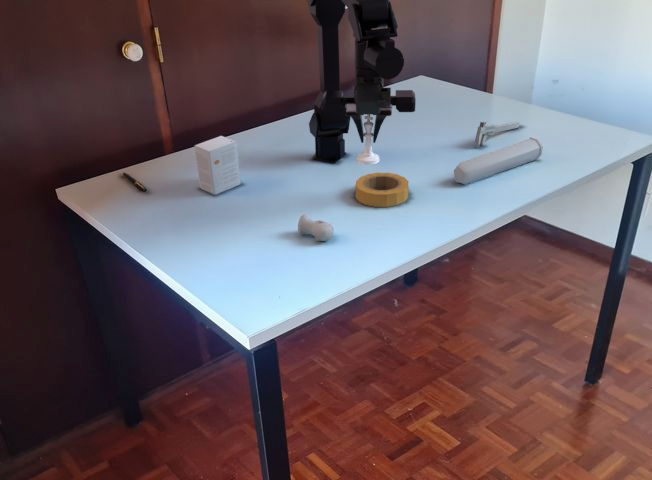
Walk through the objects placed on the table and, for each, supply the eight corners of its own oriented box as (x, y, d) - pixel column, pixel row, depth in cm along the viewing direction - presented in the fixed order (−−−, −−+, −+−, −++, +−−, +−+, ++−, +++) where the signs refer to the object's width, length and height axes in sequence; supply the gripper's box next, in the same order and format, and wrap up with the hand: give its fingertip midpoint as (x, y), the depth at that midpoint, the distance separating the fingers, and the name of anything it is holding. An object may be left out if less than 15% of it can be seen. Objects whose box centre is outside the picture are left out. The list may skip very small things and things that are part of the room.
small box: (226, 178, 169) (221, 134, 162) (241, 184, 165) (237, 140, 159) (199, 188, 164) (193, 144, 158) (214, 195, 161) (208, 151, 155)
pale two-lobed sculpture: (337, 244, 143) (321, 246, 140) (308, 231, 148) (292, 233, 144) (342, 223, 142) (325, 225, 138) (312, 211, 146) (296, 212, 142)
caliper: (478, 148, 178) (481, 124, 174) (474, 147, 179) (477, 123, 175) (520, 126, 190) (524, 102, 186) (517, 125, 190) (520, 102, 187)
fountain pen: (119, 175, 172) (118, 169, 171) (124, 173, 173) (123, 168, 172) (144, 194, 163) (143, 188, 162) (149, 193, 163) (148, 187, 162)
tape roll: (347, 201, 156) (346, 188, 155) (369, 181, 164) (369, 169, 163) (395, 211, 152) (395, 198, 150) (415, 190, 160) (416, 177, 158)
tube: (468, 173, 157) (546, 145, 167) (453, 159, 159) (530, 132, 170) (461, 192, 161) (537, 164, 171) (446, 178, 163) (522, 151, 174)
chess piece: (372, 166, 149) (373, 119, 143) (352, 162, 151) (352, 115, 145) (383, 158, 152) (385, 112, 146) (363, 154, 155) (364, 108, 148)
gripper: (319, 78, 134) (321, 157, 144) (418, 77, 133) (414, 157, 142) (323, 61, 143) (325, 137, 153) (416, 60, 142) (412, 136, 151)
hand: (368, 142), depth 149 cm, fingers closed on chess piece, 2 cm apart
